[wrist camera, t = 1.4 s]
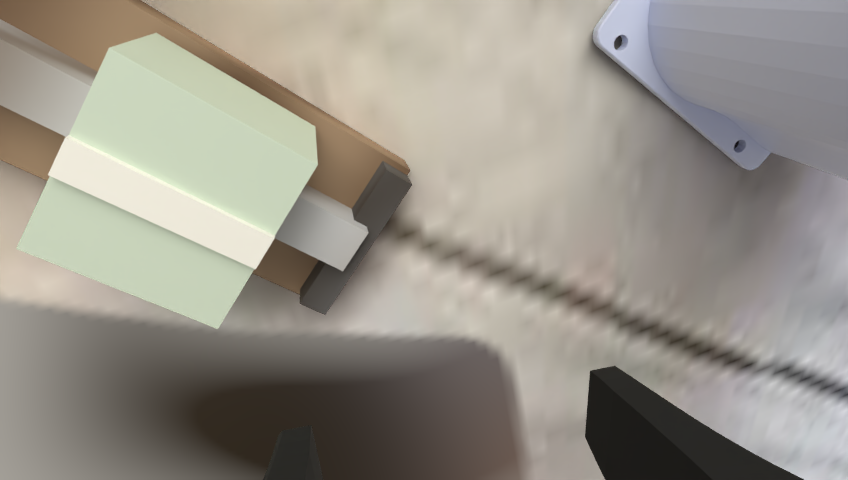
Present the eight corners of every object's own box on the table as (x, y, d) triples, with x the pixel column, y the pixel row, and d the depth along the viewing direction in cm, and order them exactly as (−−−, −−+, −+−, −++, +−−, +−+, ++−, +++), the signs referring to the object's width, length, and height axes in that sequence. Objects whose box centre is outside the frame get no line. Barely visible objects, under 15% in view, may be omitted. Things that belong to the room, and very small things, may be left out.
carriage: (315, 126, 17) (317, 167, 13) (235, 261, 18) (216, 333, 15) (156, 32, 15) (105, 48, 11) (80, 190, 17) (12, 252, 13)
